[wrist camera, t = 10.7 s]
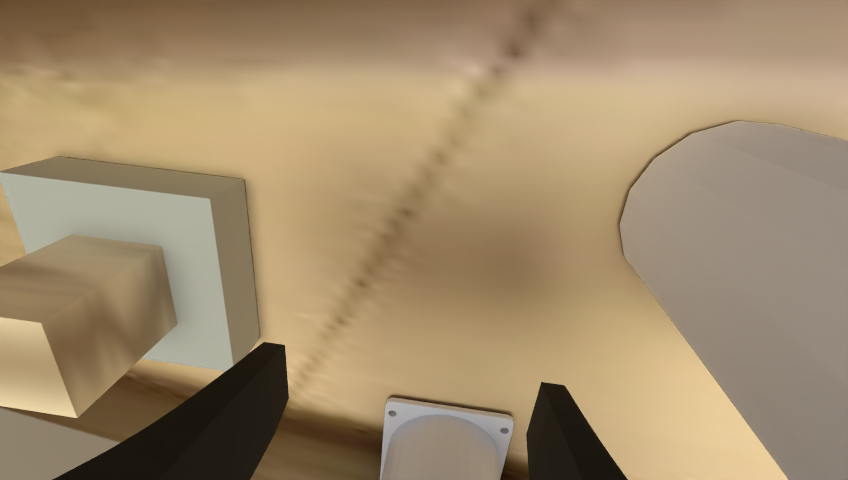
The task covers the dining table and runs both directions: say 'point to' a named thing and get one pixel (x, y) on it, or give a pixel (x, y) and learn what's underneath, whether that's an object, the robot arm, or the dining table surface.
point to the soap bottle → (756, 277)
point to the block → (79, 320)
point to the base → (155, 242)
